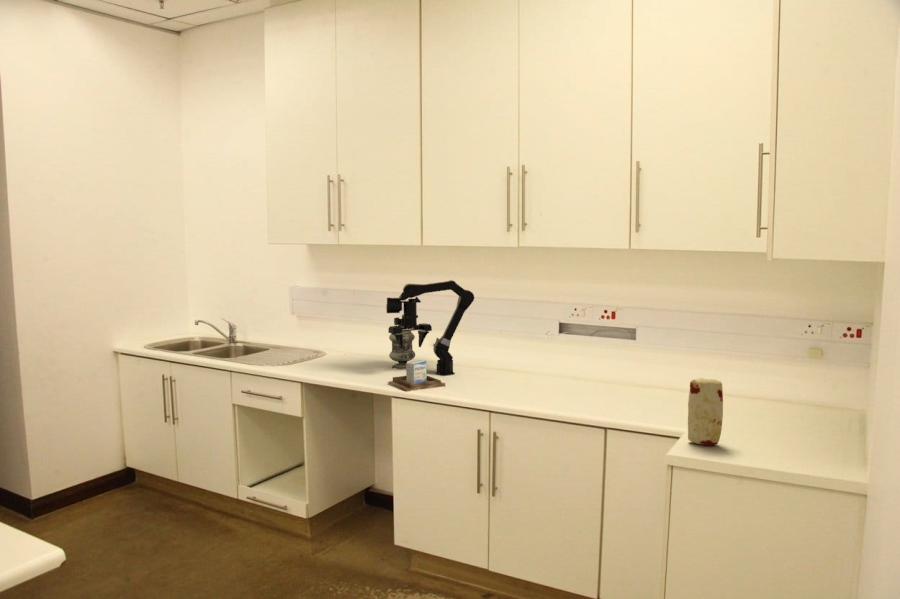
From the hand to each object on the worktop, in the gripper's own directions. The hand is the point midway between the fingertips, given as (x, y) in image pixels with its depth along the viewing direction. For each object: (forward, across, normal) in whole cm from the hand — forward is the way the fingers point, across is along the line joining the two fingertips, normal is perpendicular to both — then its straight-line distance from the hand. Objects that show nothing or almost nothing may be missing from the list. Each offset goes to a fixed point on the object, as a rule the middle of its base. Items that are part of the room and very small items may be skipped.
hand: (410, 348), depth 308 cm
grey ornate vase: (+12, -5, -18) cm, 22 cm away
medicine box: (+11, +7, +18) cm, 23 cm away
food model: (+12, -28, +134) cm, 138 cm away
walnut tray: (+12, +7, +18) cm, 23 cm away
